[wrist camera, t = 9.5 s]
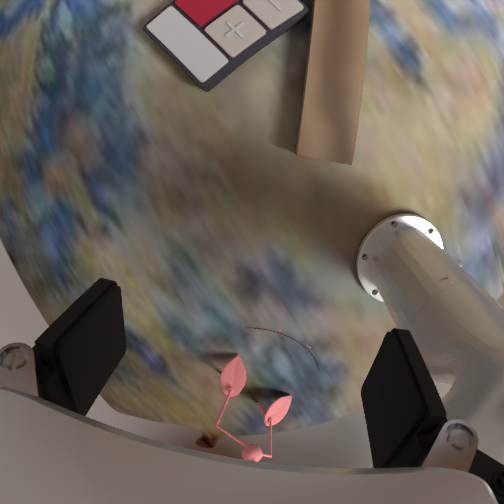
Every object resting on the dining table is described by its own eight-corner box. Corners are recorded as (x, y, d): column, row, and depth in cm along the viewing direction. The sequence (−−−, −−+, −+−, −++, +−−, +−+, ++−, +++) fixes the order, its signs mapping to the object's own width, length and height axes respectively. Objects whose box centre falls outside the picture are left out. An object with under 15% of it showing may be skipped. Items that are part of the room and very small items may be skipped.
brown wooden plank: (365, -62, 22) (370, -72, 19) (345, 161, 35) (351, 165, 32) (319, -71, 22) (321, -83, 20) (295, 153, 35) (296, 155, 32)
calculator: (312, 7, 25) (200, 88, 29) (306, 19, 29) (207, 93, 33) (244, -51, 22) (138, 26, 26) (246, -35, 26) (150, 35, 30)
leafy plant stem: (282, 426, 54) (281, 597, 21) (181, 344, 47) (108, 561, 15) (353, 390, 49) (390, 579, 17) (259, 291, 43) (235, 576, 10)
